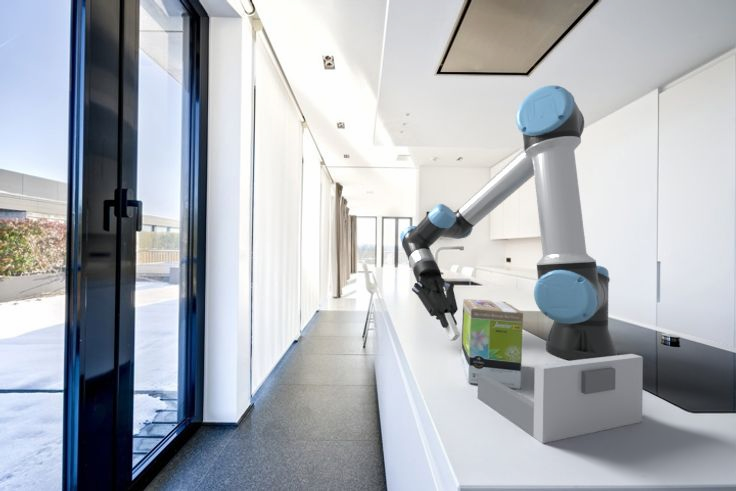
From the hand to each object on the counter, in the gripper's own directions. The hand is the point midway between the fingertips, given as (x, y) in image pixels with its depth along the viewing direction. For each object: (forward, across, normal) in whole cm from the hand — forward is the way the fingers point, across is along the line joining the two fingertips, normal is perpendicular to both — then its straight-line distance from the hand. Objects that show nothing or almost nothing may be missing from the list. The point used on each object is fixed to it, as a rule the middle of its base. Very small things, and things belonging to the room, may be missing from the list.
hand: (455, 337), depth 79 cm
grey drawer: (+23, 0, +17) cm, 28 cm away
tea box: (+12, 0, +6) cm, 13 cm away
